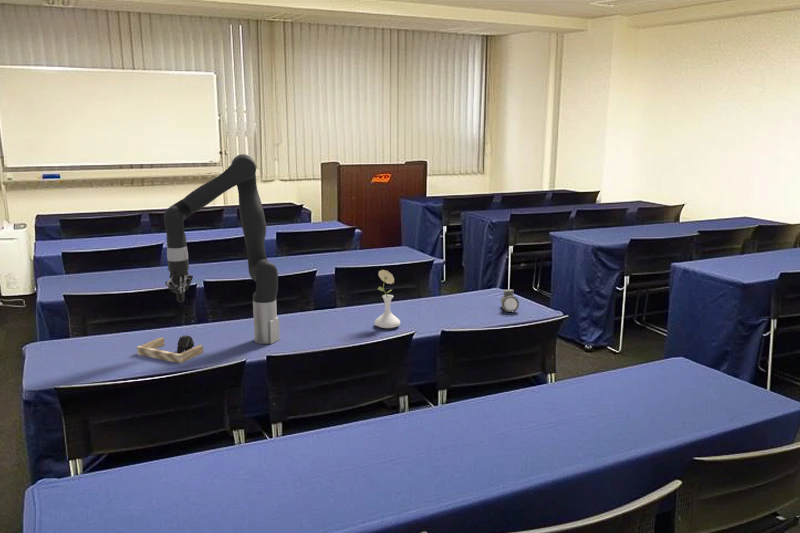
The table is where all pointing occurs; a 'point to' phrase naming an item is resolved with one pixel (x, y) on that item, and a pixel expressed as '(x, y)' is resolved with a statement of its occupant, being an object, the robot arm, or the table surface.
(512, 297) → the pipe fitting
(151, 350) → the bracket
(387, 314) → the flower in vase
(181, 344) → the power plug
